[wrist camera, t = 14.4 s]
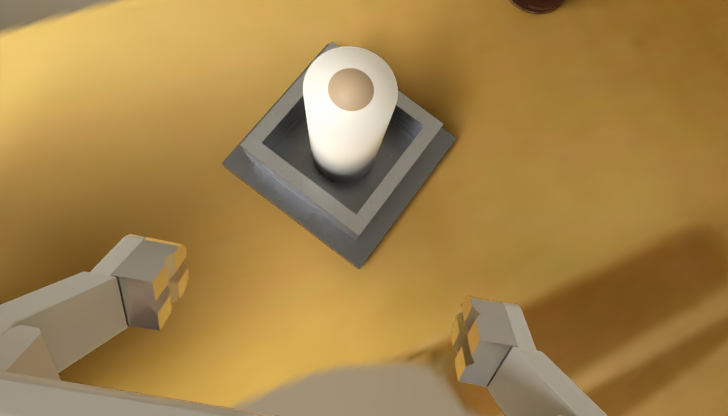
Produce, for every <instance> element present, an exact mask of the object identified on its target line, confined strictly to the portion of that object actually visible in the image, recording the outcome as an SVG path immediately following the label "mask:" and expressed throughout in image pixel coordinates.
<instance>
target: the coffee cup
mask: <svg viewBox="0 0 728 416" xmlns="http://www.w3.org/2000/svg"><path fill="white" fill-rule="evenodd" d="M510 1H511V2H512V3H513V4H514V5H516V6H517V7H519V8H521V9H523V10H524V11H527V12H530V13H546V12H551V11H553V10H555V9H556V8H557V7H559V6H560V5H561V4H562V3H563V1H564V0H510Z"/></svg>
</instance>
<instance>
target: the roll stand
mask: <svg viewBox="0 0 728 416" xmlns="http://www.w3.org/2000/svg"><path fill="white" fill-rule="evenodd" d="M338 47H339V46H338V45H336V44H335V43H334V42H331V43H330V44H327V45H326V46H325V48H324V49H323V50H322V51H321V52H320V53H319V54H318V55H317V57H319V56H320V55H321V54H323V53H325V52H326V51H328V50H331V49H334V48H338ZM317 57H316V58H317ZM316 58H315V59H316ZM315 59H314V60H315ZM314 60H313V61H314ZM313 61H312V62H311V63H310V64H309V66H308V67H307V68H306V69H305V70H304V71H303V72H302V74H301V75H300V76H299V77H298V78H297V79H296V80H295V81H294V83H293V84H292V85H291V86H290V87H289V88H288V89H287V90H286V92H285V93H284V94H283V95H282V96H281V97H280V98H279V100H278V101H277V102H276V103H275V104H274V105H273V106H272V107H271V109H270V110H269V111H268V112H267V113H266V114H265V115H264V116H263V118H262V119H261V120H260V121H259V122H258V123H257V124H256V126H255V127H254V128H253V129H252V130H251V131H250V132H249V133H248V135H247V136H246V137H245V138H244V139H243V140H242V141H241V142H240V144H239V145H238V146H237V147H236V148H235V149H234V150H233V152H232V153H231V154H230V155H229V156H228V157H227V158H226V159H225V161H224V162H223V163H222V165H223V166H224V167H225V168H226V169H228V170H229V171H230V172H232V173H233V174H234V175H235V176H237V177H238V178H239V179H241V180H242V181H243V182H245V183H246V184H247V185H249V186H250V187H251V188H252V189H254V190H255V191H256V192H258V193H259V194H260V195H262V196H263V197H264V198H266V199H267V200H268V201H269V202H271V203H272V204H273V205H275V206H276V207H277V208H279V209H280V210H281V211H283V212H284V213H285V214H287V215H288V216H289V217H290V218H292V219H293V220H294V221H296V222H297V223H298V224H300V225H301V226H302V227H304V228H305V229H306V230H307V231H309V232H310V233H311V234H313V235H314V236H315V237H317V238H318V239H319V240H321V241H322V242H323V243H324V244H326V245H327V246H328V247H330V248H331V249H332V250H334V251H335V252H336V253H338V254H339V255H340V256H341V257H343V258H344V259H345V260H347V261H348V262H349V263H351V264H352V265H353V266H355V267H356V268H357V269H360V268H361V267H362V265H363V264H364V262H365V261H366V260H367V258H368V257H369V256H370V254H371V253H372V252H373V250H374V249H375V248H376V246H377V245H378V244H379V242H380V241H381V240H382V238H383V237H384V236H385V234H386V233H387V231H388V230H389V229H390V227H391V226H392V225H393V223H394V222H395V221H396V219H397V218H398V217H399V215H400V214H401V213H402V211H403V210H404V209H405V207H406V206H407V205H408V203H409V202H410V200H411V199H412V198H413V196H414V195H415V194H416V192H417V191H418V190H419V188H420V187H421V186H422V184H423V183H424V182H425V180H426V179H427V178H428V176H429V175H430V174H431V172H432V171H433V169H434V168H435V167H436V165H437V164H438V163H439V161H440V160H441V159H442V157H443V156H444V155H445V153H446V152H447V151H448V149H449V148H450V147H451V145H452V144H453V142H454V141H455V140H456V137H454V136H453V135H452V134H450V133H449V132H447V131H446V130H445V129H443V128H442V126H443V123H442V122H440V121H439V120H438V119H436V118H435V117H434V116H432V115H431V114H430V113H428V112H427V111H426V110H424V109H423V108H422V107H420V106H419V105H417V104H416V103H415V102H413V101H412V100H411V99H409V98H408V97H407V96H405V95H404V94H403V93H401V92H400V91H399V90H398V99H397V103H396V106H395V109H394V112H393V114H392V117H391V119H390V122H389V124H388V127H387V130H386V132H385V135H384V137H383V140H382V143H381V145H380V148H379V150H378V153H377V155H376V158H375V161H374V163H373V165H372V167H371V169H370V170H369V171H368V172H367V173H366V174H365V175H364V176H362V177H361V178H359V179H357V180H354V181H350V182H338V181H334V180H331V179H329V178H327V177H326V176H324V175H323V174H322V173H321V172H320V171H319V170H318V169H317V167H316V166H315V164H314V162H313V159H312V153H311V146H310V139H309V132H308V125H307V118H306V111H305V103H304V96H303V82H304V78H305V75H306V72H307V70H308V68H309V67H310V65H311V64H312V63H313Z"/></svg>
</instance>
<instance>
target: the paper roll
mask: <svg viewBox="0 0 728 416" xmlns="http://www.w3.org/2000/svg"><path fill="white" fill-rule="evenodd" d="M303 96H304V103H305V111H306V118H307V125H308V132H309V139H310V146H311V153H312V159H313V162H314V164H315V166H316V167H317V169H318V170H319V171H320V172H321V173H322V174H323V175H324V176H326V177H327V178H329V179H331V180H334V181H338V182H350V181H354V180H357V179H359V178H361V177H362V176H364V175H365V174H366V173H367V172H368V171H369V170H370V169H371V167H372V165H373V163H374V161H375V158H376V155H377V153H378V150H379V148H380V145H381V143H382V140H383V137H384V135H385V132H386V130H387V127H388V124H389V122H390V119H391V117H392V114H393V112H394V109H395V106H396V103H397V99H398V86H397V81H396V78H395V76H394V73H393V72H392V70H391V68H390V67H389V65H388V64H387V63H386V62H385V61H384V60H383V59H382V58H381V57H379V56H378V55H376V54H375V53H373V52H371V51H369V50H366V49H364V48H360V47H353V46H344V47H338V48H334V49H331V50H328V51H326V52H325V53H323V54H321V55H320V56H319V57H317V58H316V59H315V60H314V61H313V63H312V64H311V65H310V67H309V68H308V70H307V72H306V75H305V78H304V82H303Z"/></svg>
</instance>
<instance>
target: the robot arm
mask: <svg viewBox="0 0 728 416" xmlns="http://www.w3.org/2000/svg"><path fill="white" fill-rule="evenodd" d="M186 256H187V250H186V246H185V245H183V244H179V243H174V242H169V241H164V240H159V239H154V238H149V237H148V238H147V237H142V236H138V235H133V234H129V235H126V236H124V237H123V238H122V239H121V240H120V241H119V242H118V244H117V245H116V246H115V247H114V248H113V249H112V250H111V251H110V252H109V253H108V254H107V255H106V256H105V257H104V258H103V259H102V260H101V261H100V262H99V263H98V264H97V265H96V266H95V267H94V268H93V269H92V270H91V271H90V272H85V271H83V272H81V273H78V274H76V275H73V276H71V277H68V278H66V279H63V280H61V281H58V282H56V283H53V284H51V285H48V286H46V287H43V288H41V289H38V290H36V291H33V292H31V293H28V294H26V295H23V296H21V297H18V298H16V299H13V300H11V301H8V302H6V303H3V304H1V305H0V416H277V415H271V414H264V413H258V412H253V411H246V410H240V409H234V408H228V407H222V406H216V405H209V404H203V403H197V402H191V401H185V400H178V399H172V398H166V397H160V396H154V395H148V394H141V393H135V392H129V391H123V390H117V389H110V388H104V387H98V386H92V385H86V384H79V383H73V382H67V381H61V379H60V377H59V375H58V373H60V372H61V371H63V370H64V369H66V368H67V367H69V366H70V365H72V364H73V363H75V362H76V361H78V360H79V359H81V358H82V357H84V356H85V355H87V354H89V353H90V352H92V351H93V350H95V349H96V348H98V347H99V346H101V345H102V344H104V343H105V342H107V341H108V340H110V339H111V338H113V337H114V336H116V335H117V334H119V333H120V332H122V331H124V330H125V329H127V328H128V327H127V326H131V327H138V328H145V329H152V330H159V331H160V330H161V328H162V327H163V325H164V323H165V322H166V320H167V319H168V317H169V315H170V314H171V312H172V308H171V304H172V303H174V302H176V301H178V300H179V299H180V298H181V296H182V294H183V293H184V291H185V288H186V285H187V282H188V275H189V272H188V267H187V265H186V264H185V263H184V262H183V261H184V259H185V258H186ZM461 306H462V311H463V312H461V313H459V314H458V315H456V317H455V320H454V322H453V327H452V346H453V348H454V349H455V350H456V352H457V353H458V355H457V357H456V359H455V365H456V371H457V377H458V381H459V382H464V383H470V384H475V385H480V386H485V387H487V389H488V391H489V392H490V394H491V395H492V397H493V398H494V400H495V401H496V403H497V404H498V405H499V407H500V408H501V410H502V411H503V413H504V414H505V416H607V415H606V414H605V413H604V412H603V411H602V410H601V409H600V408H599V407H598V406H597V405H596V404H595V403H594V402H593V401H592V400H591V399H590V398H589V397H588V396H587V395H586V394H585V393H584V392H583V391H582V390H581V389H580V388H579V387H578V386H577V385H576V384H575V383H574V382H573V381H572V380H571V379H570V378H568V377H567V376H566V375H565V374H564V373H563V372H562V371H561V370H560V369H559V368H558V367H557V366H556V365H555V364H554V363H553V362H552V361H551V360H550V359H549V358H548V357H547V356H546V355H545V354H544V353H543V352H541V351H537V349H536V347H535V344H534V342H533V339H532V336H531V334H530V331H529V328H528V326H527V323H526V320H525V318H524V315H523V313H522V310H521V307H520V306H519V305H518V304H514V303H508V302H502V301H500V302H499V301H495V300H489V299H483V298H478V297H472V296H466V297H465V298H464V300H463V302H462V304H461Z"/></svg>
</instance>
